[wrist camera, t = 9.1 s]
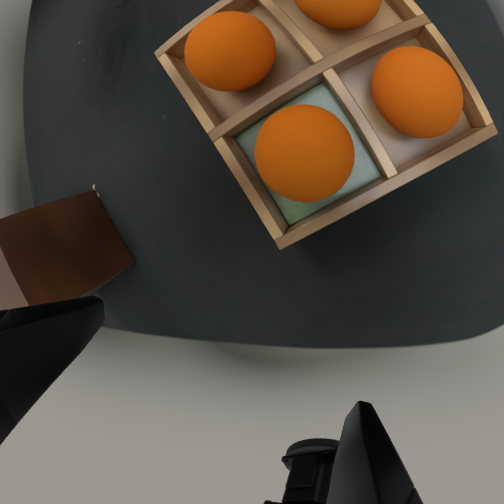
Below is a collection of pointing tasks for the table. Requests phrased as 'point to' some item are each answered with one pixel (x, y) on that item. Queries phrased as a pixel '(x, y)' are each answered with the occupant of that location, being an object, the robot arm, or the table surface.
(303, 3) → the clementine
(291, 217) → the fruit rack
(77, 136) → the table surface
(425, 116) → the clementine
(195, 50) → the clementine
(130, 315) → the table surface
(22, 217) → the brown wooden block
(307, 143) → the clementine
